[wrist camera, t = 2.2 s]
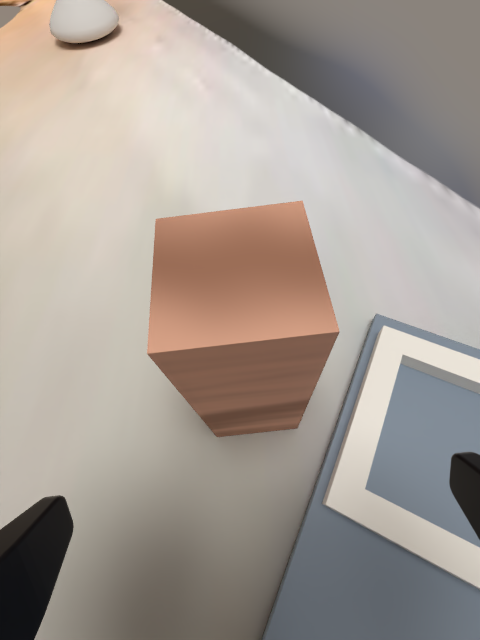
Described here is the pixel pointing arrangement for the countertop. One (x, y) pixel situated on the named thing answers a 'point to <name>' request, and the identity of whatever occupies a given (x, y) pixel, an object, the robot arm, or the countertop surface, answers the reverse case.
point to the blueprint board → (391, 502)
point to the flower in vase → (82, 20)
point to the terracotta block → (241, 315)
